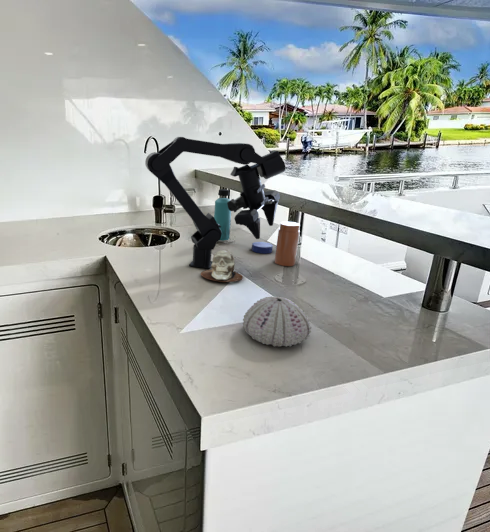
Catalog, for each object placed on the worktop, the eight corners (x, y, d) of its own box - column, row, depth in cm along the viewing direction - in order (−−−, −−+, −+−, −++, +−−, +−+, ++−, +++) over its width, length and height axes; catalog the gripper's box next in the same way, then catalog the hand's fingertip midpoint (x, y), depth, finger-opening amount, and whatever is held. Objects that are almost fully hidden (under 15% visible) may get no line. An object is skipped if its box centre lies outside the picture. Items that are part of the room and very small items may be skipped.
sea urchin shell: (320, 351, 73) (327, 314, 70) (251, 353, 72) (256, 315, 69) (292, 319, 85) (297, 286, 83) (233, 320, 84) (236, 287, 82)
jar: (294, 267, 119) (300, 226, 115) (273, 264, 121) (278, 224, 117) (295, 261, 125) (301, 222, 121) (275, 258, 127) (280, 220, 123)
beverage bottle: (230, 244, 142) (235, 190, 135) (212, 244, 142) (216, 190, 135) (227, 240, 148) (232, 188, 141) (210, 239, 148) (214, 187, 142)
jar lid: (259, 246, 140) (260, 240, 139) (276, 251, 135) (276, 245, 134) (247, 250, 136) (248, 243, 135) (264, 254, 131) (264, 248, 130)
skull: (244, 283, 102) (220, 254, 101) (214, 302, 107) (191, 274, 106) (249, 268, 112) (227, 241, 112) (221, 286, 117) (201, 260, 116)
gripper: (243, 178, 124) (255, 221, 130) (213, 200, 113) (228, 246, 119) (274, 172, 116) (286, 218, 122) (245, 196, 105) (259, 245, 111)
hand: (264, 232), depth 119 cm, fingers open, 9 cm apart
